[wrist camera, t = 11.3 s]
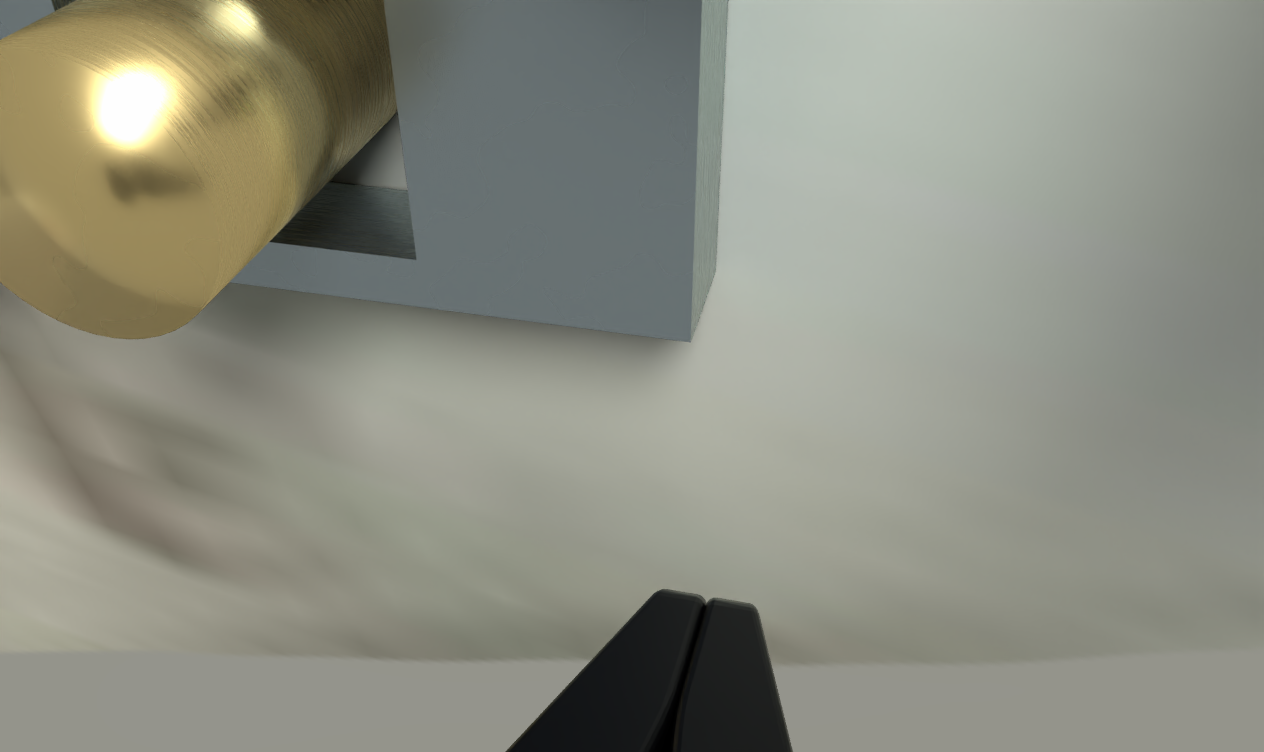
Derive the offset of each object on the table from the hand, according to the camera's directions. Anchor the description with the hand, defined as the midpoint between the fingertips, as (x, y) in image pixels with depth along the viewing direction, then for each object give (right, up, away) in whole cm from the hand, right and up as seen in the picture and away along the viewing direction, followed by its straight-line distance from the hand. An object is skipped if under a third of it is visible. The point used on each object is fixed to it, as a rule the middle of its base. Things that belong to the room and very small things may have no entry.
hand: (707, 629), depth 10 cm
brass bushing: (-7, +8, +12) cm, 16 cm away
